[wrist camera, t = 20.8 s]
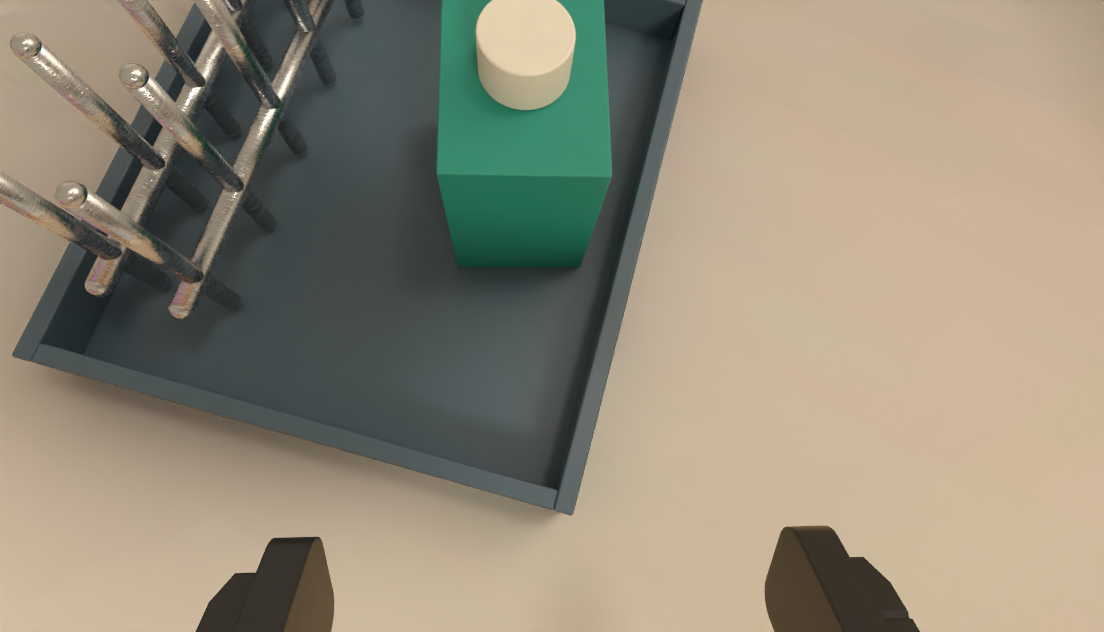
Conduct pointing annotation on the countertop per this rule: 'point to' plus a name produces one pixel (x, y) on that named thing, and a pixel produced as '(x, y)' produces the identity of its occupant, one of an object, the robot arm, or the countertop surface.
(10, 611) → the countertop surface
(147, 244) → the dish rack
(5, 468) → the countertop surface
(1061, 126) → the countertop surface
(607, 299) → the drip tray
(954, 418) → the countertop surface
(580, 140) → the detergent bottle
